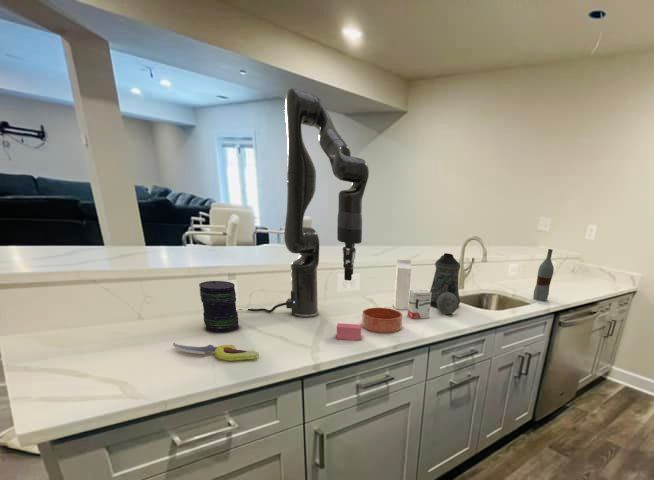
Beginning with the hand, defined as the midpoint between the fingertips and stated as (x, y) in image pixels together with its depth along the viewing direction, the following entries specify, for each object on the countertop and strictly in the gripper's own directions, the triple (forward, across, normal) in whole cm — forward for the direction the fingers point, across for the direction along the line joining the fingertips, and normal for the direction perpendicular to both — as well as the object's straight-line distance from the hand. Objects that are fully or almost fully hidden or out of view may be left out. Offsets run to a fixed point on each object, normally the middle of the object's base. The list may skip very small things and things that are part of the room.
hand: (348, 277), depth 128 cm
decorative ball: (+22, -38, +42) cm, 61 cm away
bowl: (+22, -14, +12) cm, 28 cm away
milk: (+22, -43, +21) cm, 53 cm away
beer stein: (+22, -54, +42) cm, 72 cm away
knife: (+22, +19, -36) cm, 46 cm away
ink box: (+22, -30, +28) cm, 47 cm away
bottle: (+22, -82, +108) cm, 137 cm away
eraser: (+22, 0, 0) cm, 22 cm away
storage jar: (+22, -3, -41) cm, 46 cm away
